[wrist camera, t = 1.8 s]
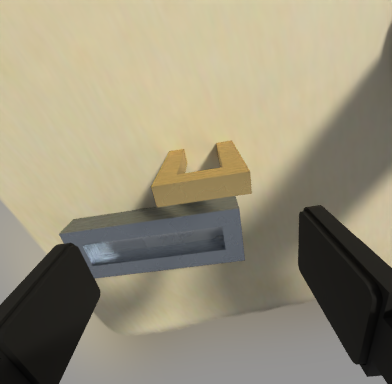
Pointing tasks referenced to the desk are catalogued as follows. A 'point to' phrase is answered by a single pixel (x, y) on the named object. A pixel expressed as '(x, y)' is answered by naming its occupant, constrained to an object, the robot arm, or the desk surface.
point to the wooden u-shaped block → (201, 178)
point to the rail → (159, 237)
